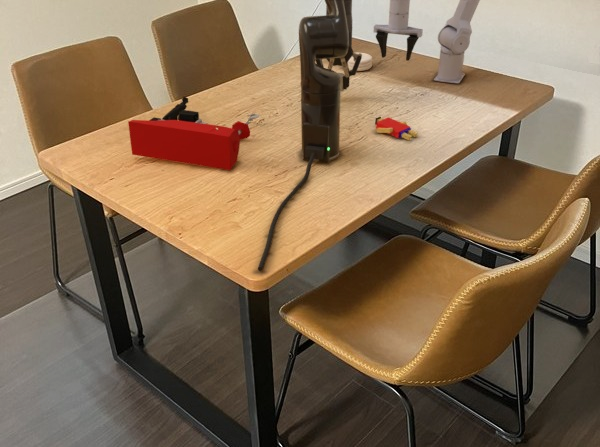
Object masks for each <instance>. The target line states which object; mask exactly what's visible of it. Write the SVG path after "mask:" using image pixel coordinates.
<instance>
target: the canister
mask: <svg viewBox="0 0 600 447" xmlns="http://www.w3.org/2000/svg"><path fill="white" fill-rule="evenodd" d="M337 73H338V74H339V75H340V78H341V92H344V91H345V90H344V77H345V74H344V72H337Z"/></svg>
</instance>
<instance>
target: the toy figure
mask: <svg viewBox="0 0 600 447" xmlns="http://www.w3.org/2000/svg"><path fill="white" fill-rule="evenodd" d="M374 125H375V129H376V130H375V131H376V133H377V134H378V133H379V134H388V135H390V136H392V137H394V138H396V139H399V138H400V139H402V138H403V139H405V140H408V141H410V140H412V137H413V138H416V137H418V132H417V131H415V130H413V129H412V127H411V126H410V125H408V124H407V121H398V120H395V119H393V118H391V117H389V116H388V117H386V118H383V117H382V116H377V117H375V121H374Z"/></svg>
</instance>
